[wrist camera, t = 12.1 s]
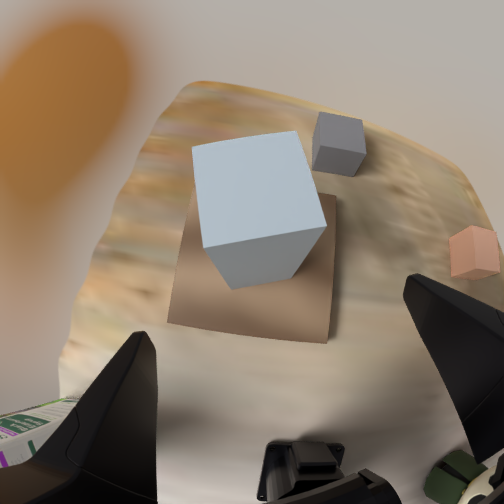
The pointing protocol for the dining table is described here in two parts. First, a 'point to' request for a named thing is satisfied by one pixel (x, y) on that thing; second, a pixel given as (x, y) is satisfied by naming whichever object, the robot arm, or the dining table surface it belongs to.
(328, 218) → the walnut board
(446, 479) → the character mug
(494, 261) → the terracotta block
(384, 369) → the dining table surface
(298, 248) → the slate block
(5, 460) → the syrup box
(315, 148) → the charcoal block
